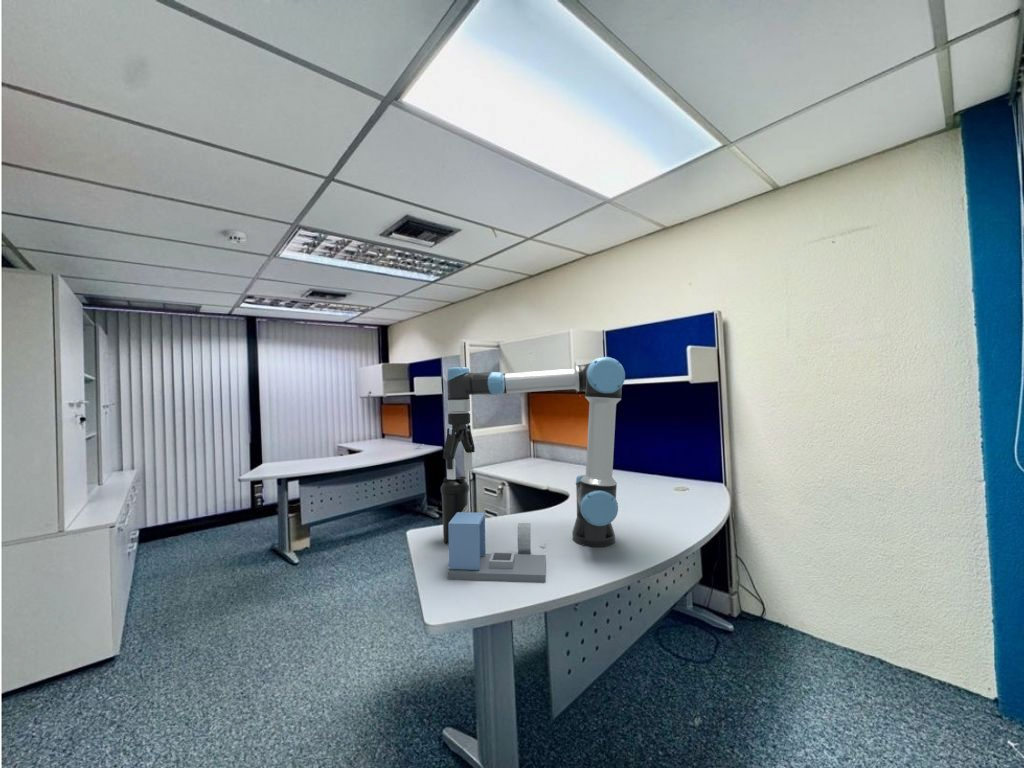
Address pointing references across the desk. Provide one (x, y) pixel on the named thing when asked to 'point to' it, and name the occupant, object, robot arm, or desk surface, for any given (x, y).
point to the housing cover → (466, 540)
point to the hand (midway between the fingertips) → (460, 475)
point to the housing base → (505, 568)
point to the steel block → (524, 538)
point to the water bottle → (453, 501)
